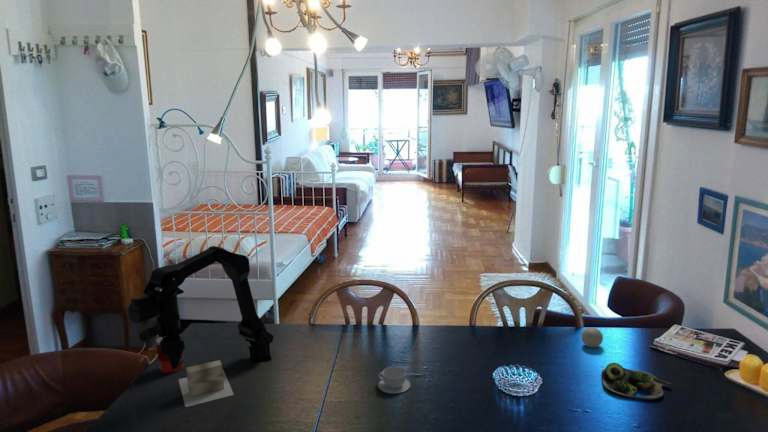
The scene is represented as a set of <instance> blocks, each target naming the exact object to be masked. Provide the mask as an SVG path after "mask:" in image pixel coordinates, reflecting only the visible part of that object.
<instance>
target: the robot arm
mask: <svg viewBox="0 0 768 432" xmlns="http://www.w3.org/2000/svg"><path fill="white" fill-rule="evenodd" d="M216 262H217V263H219V264H221V267H222V268H223V270H224V273H225V275H226V276H227V277H228V278H229V279H230V281H232V285H233V289H234V293H235V296H236V297H235V298H236V300H237V305H238V308H239V311H240V315H241V320H240V323H238V324H237V329H238V331H239V332H238V335H240V336H241V337H242V338H243V339H244V340H245V342H248V346H247V354H248V359H249V360H250V361H251V362H252V364H258V363H262V362H267V361H272V360H273V358H272V356H271V349H270V344H271V343H273V341H274V335H273V334H272V333H270V332H268V331H267V328H266V326H265V323H264V322H263V320H262V319H261V318H260V317H259V316H258V313H257V310H256V306H255V301H254V299H253V294H252V291H251V286H250V283H249V279H248V278H249V274H250V270H251V268H250V260H249V257H248V256H246V255H244V254H239V253H236V252H231V251H228V250H226V249H225V248H223V247H220V246H217V245H211V246H209V247H208V248H207V249H204V250H202V251H200V252H199V253H196V254H194V255H193V256H191V257H189V258H187V259H185V260H183V261H181V262H179V263H175V264H168V265H163V266H161V267H157V268H155V269H153V270H152V271H151V275H150V278H149V280H148V282H147V284H146V285H145V288H144V290H143V292H142V294H143V295H142V296H139V297H133V298H131V299H130V301H131V302H130V303H129V305H128V309H127V315H128V318H129V319H130V321H131V322H132V323H133V324H139V323H142V322H146V321H147V320H151V319H153V318H156V319H154V320H153V321H149V322H148V323H146V324H143V325H142V326H139V327H138V328H137V330H136V333H137V336H138V337H139V340H140V341H141V342H142V343H143V344H145V343H147V342H148V341H150V340H151V339H153V338H155V337H158V338H159V337H162V338H163V339H162V340H161V341H160V349H161V353H162V354H166V355H167V356H168V358H169V361H170V364H171V366H172V369H176V368H177V366H178V363H179V360H180V357H181V355H182V352H183V353H184V350H185V349H186V347H185V345H186V344H185V340H184V337H183V336H181V334H182V329H181V322H180V320H181V319H180V317H181V316H180V312H179V311H180V310H179V301H178V299H179V298H178V295H181V294H184V292H185V291H184V290H183V289H181V288H180V286H181V285H182V284H183V283H184V282H185V280H186V279H187V278H188V277H190V276H193V275H194V274H195V273H197V272H199V271H201V270H203V269H205V268H207V267H209V266H211V265H213V264H215V263H216ZM157 289H159V290H157Z"/></svg>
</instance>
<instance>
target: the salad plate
mask: <svg viewBox="0 0 768 432" xmlns="http://www.w3.org/2000/svg"><path fill="white" fill-rule="evenodd" d="M600 376H601V377H600V378H601V383H602V387H603V389H605V391H606V392H607V393H608V394H611V395H612V396H615V397H618V398H619V397H620V398H624V399H634V400H656V399H660V398H661V397H663V396H664V391H663V388H662V387H666V386H671V385H672V384H671V382H669V381H665V380H664V379H663V380H662V379H660V378H657V377H656V376H655V375H653V374H652V373H649V372H647V371H644V370H638V369H628V368H625V367H623V365H621V364H620V363H617V362H610V363H609V364H607V365H606V367H605V368H604V369H603V370H602V371H601V374H600ZM639 391H643V392H645V391H648V392H649V393H650V394H649V395H645V396H637V395H635V394H636V393H637V392H639ZM634 395H635V396H634Z"/></svg>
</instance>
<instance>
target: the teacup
mask: <svg viewBox="0 0 768 432" xmlns="http://www.w3.org/2000/svg"><path fill="white" fill-rule="evenodd" d="M406 371H407V370H406V369H405V368H403V367H400V366H389V367H386V368H384V369H383V370H382V371H380V372H379V373H378V379H379V380H380V381H379V382H378V383H377V386H378V389H379V390H380V391H381V392H384V393H386V394H392V395H393V394H401V393H404V392H406V391H408V390H409V389H410V388H411V382H410V381H409V380H408V379H407V378H406V377H407V372H406Z"/></svg>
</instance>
